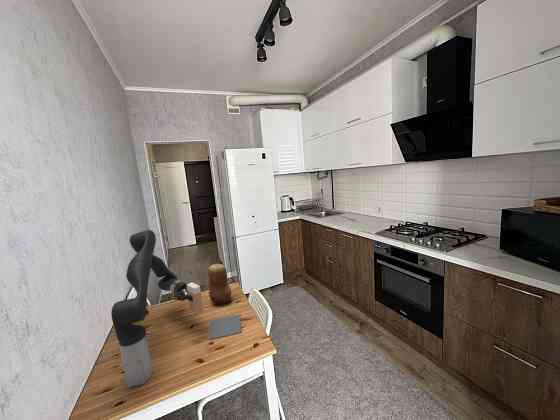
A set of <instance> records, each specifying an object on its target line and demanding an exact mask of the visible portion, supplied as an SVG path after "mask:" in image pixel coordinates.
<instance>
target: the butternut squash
mask: <svg viewBox="0 0 560 420" xmlns="http://www.w3.org/2000/svg"><path fill="white" fill-rule="evenodd" d="M207 275H208V283H209V290H208V296H209V299H210V301H211V302H213V303H214V304H220V305H223V304H225V303H228V301H229V300H230V299H231V296H232V289H231V286H230V285H229V283H228V272H227V268H226V266H225V265H224V264H221V263H215V264H212V265H211V266H209V267H208V269H207Z"/></svg>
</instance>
